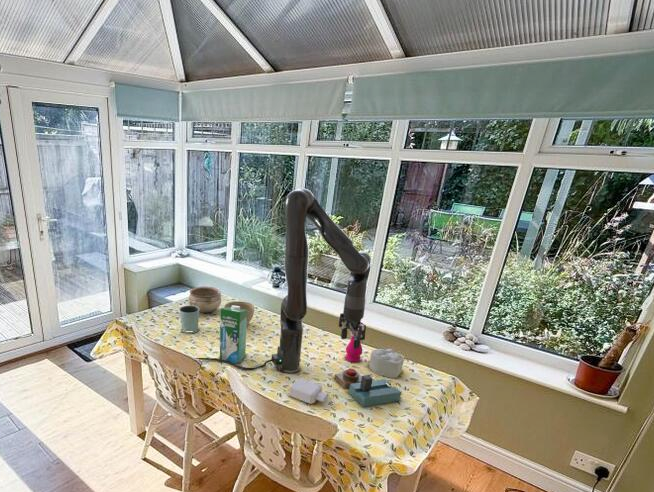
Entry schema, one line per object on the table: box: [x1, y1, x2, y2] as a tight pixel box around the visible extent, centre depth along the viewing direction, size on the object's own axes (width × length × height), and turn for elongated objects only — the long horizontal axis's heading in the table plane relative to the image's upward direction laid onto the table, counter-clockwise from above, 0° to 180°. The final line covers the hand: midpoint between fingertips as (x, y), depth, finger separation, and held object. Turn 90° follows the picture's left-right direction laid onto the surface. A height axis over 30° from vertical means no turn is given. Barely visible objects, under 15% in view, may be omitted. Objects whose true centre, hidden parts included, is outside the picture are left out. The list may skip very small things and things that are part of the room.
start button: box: [347, 368, 357, 376], centre depth 168 cm, size 3×3×2 cm
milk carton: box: [219, 305, 248, 365], centre depth 183 cm, size 9×9×25 cm
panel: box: [334, 369, 363, 389], centre depth 169 cm, size 10×8×4 cm
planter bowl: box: [223, 300, 256, 327], centre depth 220 cm, size 16×16×11 cm
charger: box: [288, 377, 333, 405], centre depth 157 cm, size 5×9×15 cm
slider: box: [360, 374, 373, 392], centre depth 156 cm, size 3×3×6 cm
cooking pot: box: [187, 286, 222, 314], centre depth 237 cm, size 25×19×12 cm
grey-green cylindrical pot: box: [178, 305, 200, 334], centre depth 213 cm, size 10×10×12 cm
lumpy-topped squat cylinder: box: [368, 348, 405, 379], centre depth 178 cm, size 10×13×9 cm
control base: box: [348, 378, 402, 408], centre depth 159 cm, size 16×10×5 cm, turn 106°
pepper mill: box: [345, 321, 365, 363], centre depth 184 cm, size 7×7×20 cm
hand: (349, 343), depth 162 cm, fingers open, 8 cm apart
